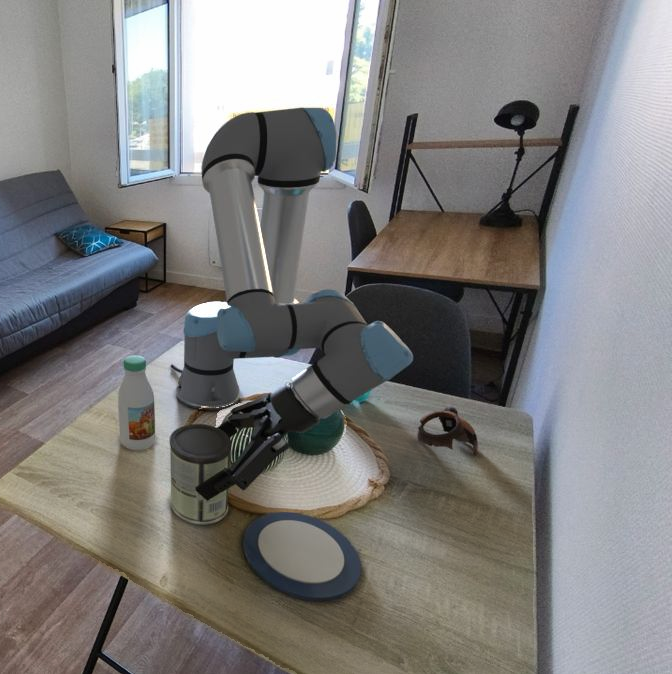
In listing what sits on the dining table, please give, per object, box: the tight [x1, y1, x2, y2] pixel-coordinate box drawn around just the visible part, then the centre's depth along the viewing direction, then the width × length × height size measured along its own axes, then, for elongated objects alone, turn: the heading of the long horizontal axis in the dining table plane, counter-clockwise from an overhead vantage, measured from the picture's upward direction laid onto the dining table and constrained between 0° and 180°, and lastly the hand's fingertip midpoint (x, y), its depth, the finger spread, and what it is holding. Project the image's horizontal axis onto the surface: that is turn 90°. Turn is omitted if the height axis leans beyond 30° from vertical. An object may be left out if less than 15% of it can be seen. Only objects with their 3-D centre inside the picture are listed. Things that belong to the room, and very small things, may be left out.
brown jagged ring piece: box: [416, 406, 479, 456], centre depth 101 cm, size 12×10×8 cm
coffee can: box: [169, 423, 233, 526], centre depth 89 cm, size 10×10×14 cm
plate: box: [242, 511, 362, 602], centre depth 80 cm, size 17×17×1 cm
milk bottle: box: [117, 355, 156, 451], centre depth 107 cm, size 8×8×20 cm
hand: (203, 468), depth 88 cm, fingers open, 13 cm apart
